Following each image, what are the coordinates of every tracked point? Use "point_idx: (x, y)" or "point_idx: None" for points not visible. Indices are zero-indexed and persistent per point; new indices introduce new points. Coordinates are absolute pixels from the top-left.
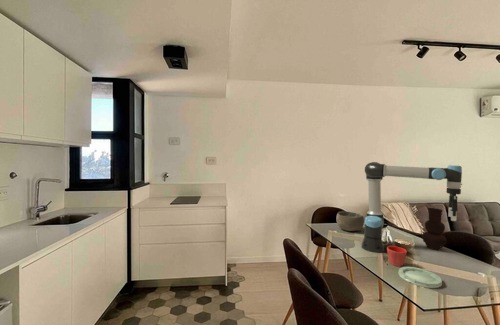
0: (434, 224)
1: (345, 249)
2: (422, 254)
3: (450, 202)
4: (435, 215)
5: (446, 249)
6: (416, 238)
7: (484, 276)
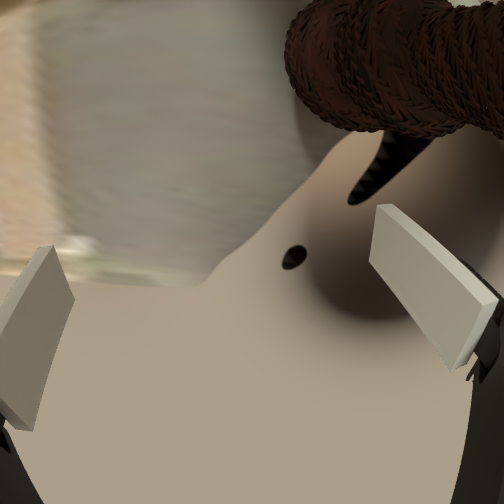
0: (375, 44)
1: None
2: (149, 10)
3: (494, 476)
4: (463, 56)
5: None
6: None
7: None
